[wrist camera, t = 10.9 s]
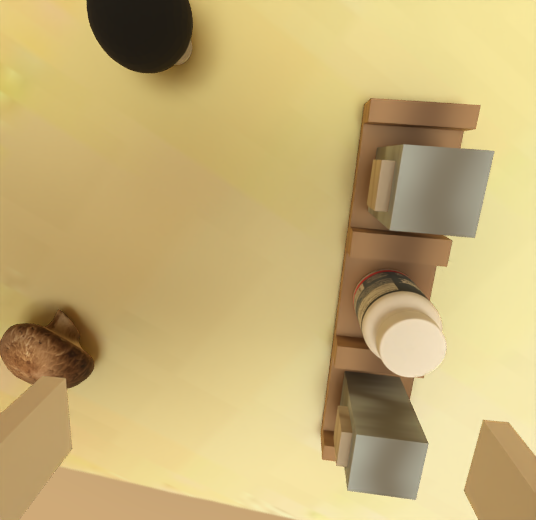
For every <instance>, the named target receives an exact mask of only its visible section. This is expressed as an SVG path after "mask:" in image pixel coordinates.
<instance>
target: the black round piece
mask: <svg viewBox="0 0 536 520" xmlns="http://www.w3.org/2000/svg"><path fill="white" fill-rule="evenodd" d="M87 12H88V19H89V23H90V26H91V29H92V31H93V33H94V35H95V37H96V39H97V41H98V42H99V44H100V45H101V47H102V48H103V50H104V51H105V52H106V53H107V54H108V55H109V56H110V57H111V58H112V59H113V60H115V61H116V62H117V63H119V64H120V65H122V66H124V67H126V68H128V69H130V70H133V71H136V72H141V73H157V72H162V71H164V70H167V69H168V68H170V67H172V66H173V65H174V64H175V65H179V64H183V63H185V62H186V61H187V60H188V59H189V57H190V55H191V52H192V42H191V36H192V29H193V18H192V11H191V7H190V4H189V1H188V0H87Z"/></svg>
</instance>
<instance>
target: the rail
mask: <svg viewBox="0 0 536 520" xmlns="http://www.w3.org/2000/svg"><path fill="white" fill-rule="evenodd" d="M480 106H481V105H468V104H453V103H437V102H422V101H406V100H391V99H375V98H371V99H370V100H369V101H368V102H366V103H365V104H364V110H363V118H362V125H361V133H360V140H359V148H358V156H357V163H356V171H355V178H354V186H353V194H352V201H351V209H350V216H349V224H348V231H347V239H346V247H345V254H344V262H343V269H342V277H341V284H340V292H339V300H338V307H337V315H336V322H335V330H334V338H333V345H332V353H331V360H330V368H329V375H328V383H327V391H326V398H325V406H324V413H323V421H322V429H321V448H322V459H323V460H330V461H336V466H343V467H345V475H346V483H347V491H355V492H362V493H369V494H377V495H384V496H391V497H399V498H406V499H413V500H416V497H417V492H418V488H419V483H420V479H421V475H422V470H423V466H424V461H425V457H426V452H427V448H428V441H427V439H426V437H425V434H424V432H423V430H422V427H421V425H420V423H419V420H418V418H417V416H416V413H415V411H414V409H413V406H412V404H411V402H410V395H411V391H412V386H413V381H414V377H403V376H400V375H397V374H395V373H393V372H392V371H390V370H389V369H388V368H387V367H386V366H385V365H384V363H383V362H382V360H381V359H380V358H379V357H377V356H376V355H375V354H374V353H373V352H372V351H371V350H370V349H369V347H368V346H367V344H366V342H365V340H364V337H363V335H362V331H361V327H360V324H359V321H358V318H357V316H356V313H355V310H354V306H353V294H354V291H355V288H356V286H357V284H358V283H359V282H360V281H361V279H362V278H364V277H365V276H366V275H368V274H369V273H371V272H374V271H377V270H381V269H393V270H397V271H400V272H402V273H404V274H405V275H407V276H408V277H409V278H410V279H411V280H412V281H413V282H414V283H415V284H416V286H417V287H418V288H419V289H420V290H421V291H422V292H423V294H424V295H425V296H426V297H427V298H428V299H429V301H430V296H431V291H432V286H433V281H434V276H435V271H436V266H446V267H447V264H448V259H449V254H450V249H451V245H452V240H451V239H449V238H447V237H445V236H444V235H448V236H459V237H471V238H475V235H476V230H477V226H478V221H479V217H480V212H481V208H482V204H483V199H484V195H485V190H486V186H487V181H488V177H489V172H490V168H491V164H492V159H493V155H494V151H489V150H475V149H461V148H460V147H461V142H462V137H463V132H464V131H466V130H473V129H476V125H477V120H478V116H479V111H480ZM418 378H424V376H420V377H418Z"/></svg>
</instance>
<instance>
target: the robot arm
mask: <svg viewBox="0 0 536 520" xmlns="http://www.w3.org/2000/svg"><path fill="white" fill-rule="evenodd" d="M71 449H72V442H71V431H70V420H69V409H68V398H67V387H66V378H59V377H49V376H42V377H41V378H40V379H38V380H37V381H36V382H35V383H34V384H33V385H32V386H31V387H30V388H28V389H27V390H26V391H25V392H24V393H23V394H22V395H21V396H20V397H18V398H17V399H16V400H15V401H14V402H13V403H12V404H11V405H10V406H8V407H7V408H6V409H5V410H4V411H3V412H2V413H1V414H0V520H19V519H20V518H21V517H22V515H23V514H24V513H25V512H26V510H27V509H28V507H29V506H30V505H31V503H32V502H33V501H34V499H35V498H36V497H37V495H38V494H39V493H40V491H41V490H42V489H43V487H44V486H45V485H46V483H47V481H48V480H49V479H50V478H51V476H52V475H53V474H54V472H55V471H56V470H57V468H58V467H59V466H60V464H61V463H62V462H63V460H64V459H65V458H66V456H67V455H68V454H69V452H70V451H71ZM464 492H465V494H466V496H467V498H468V500H469V502H470V504H471V506H472V508H473V510H474V512H475V514H476V516H477V518H478V520H536V456H535V455H534V454H533V452H532V451H531V450H530V449H529V447H528V446H527V445H526V444H525V442H524V441H523V440H522V439H521V437H520V436H519V435H518V434H517V432H516V431H515V430H514V429H513V427H512V426H511V425H510V424H509V422H499V421H489V420H483V422H482V426H481V429H480V433H479V437H478V441H477V444H476V448H475V452H474V455H473V459H472V463H471V466H470V470H469V474H468V477H467V481H466V485H465V488H464Z"/></svg>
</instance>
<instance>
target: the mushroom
mask: <svg viewBox="0 0 536 520" xmlns="http://www.w3.org/2000/svg"><path fill="white" fill-rule="evenodd" d="M79 337H80V335H79V332H78V330H77V329H76V327H75V325H74V324H73V322H72V321H71V320H70V319H69V318H68V317H67V316H66V315H65V314H64V313H63V312H62V311H61V310H59V309H58V311H57V313H56V316H55V318H54V319H53V321H52V322H51V323H50V324H49V325H48V326H45V327H44V326H40V325H36V324H27V323H26V324H16V325H13V326H11V327H10V328H9V329H8V330H7V331H6V332H5V334H4V335H3V337H2V339H1V341H0V355H1V357H2V359H3V361H4V363H5V365H6V366H7V368H8V369H9V370H10V371H11V372H12V373H13V374H14V375H15V376H16V377H18V378H20V379H22V380H24V381H26V382H28V383H30V384H34V383H35V382H36V381H37V380H38V379H40V378H41V377H42V376H49V377H59V378H66V387H67V388H72V387H74V386H76V385H78V384H80V383H81V382H82V381H84V380H85V379H86V378H87V377H88V376H89V375H90V374H91V373H92V371H93V369H94V361H93V359H92V357H91V356H90V355H89V354H88V353H87V352H85V351H84V350H83V349H82V348H81V346H80V345H79Z"/></svg>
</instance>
